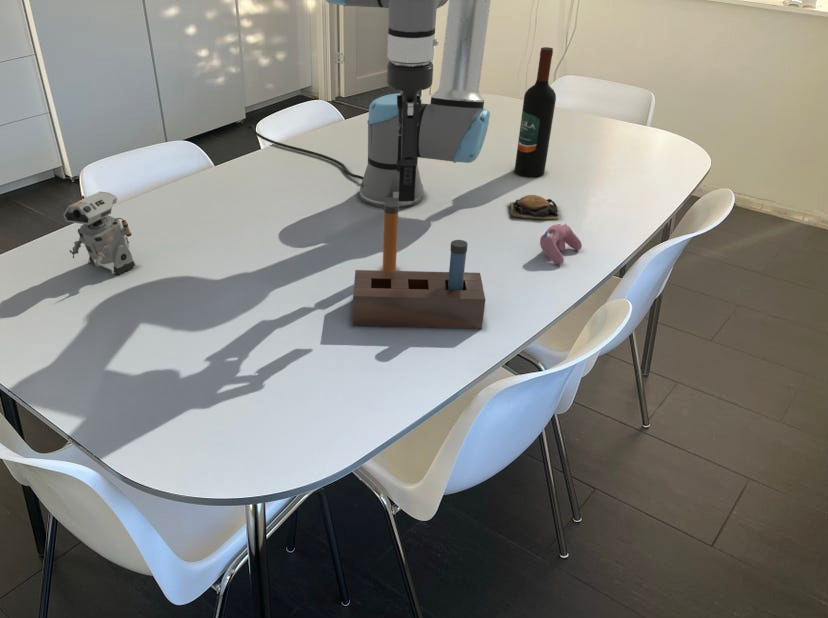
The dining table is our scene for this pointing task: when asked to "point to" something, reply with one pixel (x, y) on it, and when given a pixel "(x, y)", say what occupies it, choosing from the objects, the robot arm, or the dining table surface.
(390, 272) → the rack
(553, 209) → the bread roll
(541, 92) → the wine bottle
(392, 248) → the amber tube
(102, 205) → the figurine
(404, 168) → the robot arm
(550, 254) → the video game controller
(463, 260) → the smoke-blue tube
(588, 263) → the dining table surface
